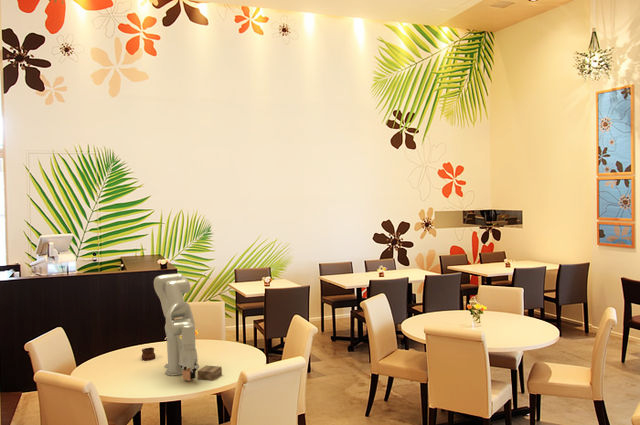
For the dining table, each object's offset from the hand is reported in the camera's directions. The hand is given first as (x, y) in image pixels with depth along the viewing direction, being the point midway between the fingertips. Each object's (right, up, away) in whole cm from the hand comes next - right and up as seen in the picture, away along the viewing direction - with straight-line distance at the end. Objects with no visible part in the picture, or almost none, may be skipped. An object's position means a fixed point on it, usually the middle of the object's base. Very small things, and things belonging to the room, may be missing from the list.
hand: (189, 377), depth 296 cm
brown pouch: (-38, -3, +46) cm, 60 cm away
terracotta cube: (0, -1, 0) cm, 1 cm away
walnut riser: (+10, -2, +6) cm, 12 cm away
